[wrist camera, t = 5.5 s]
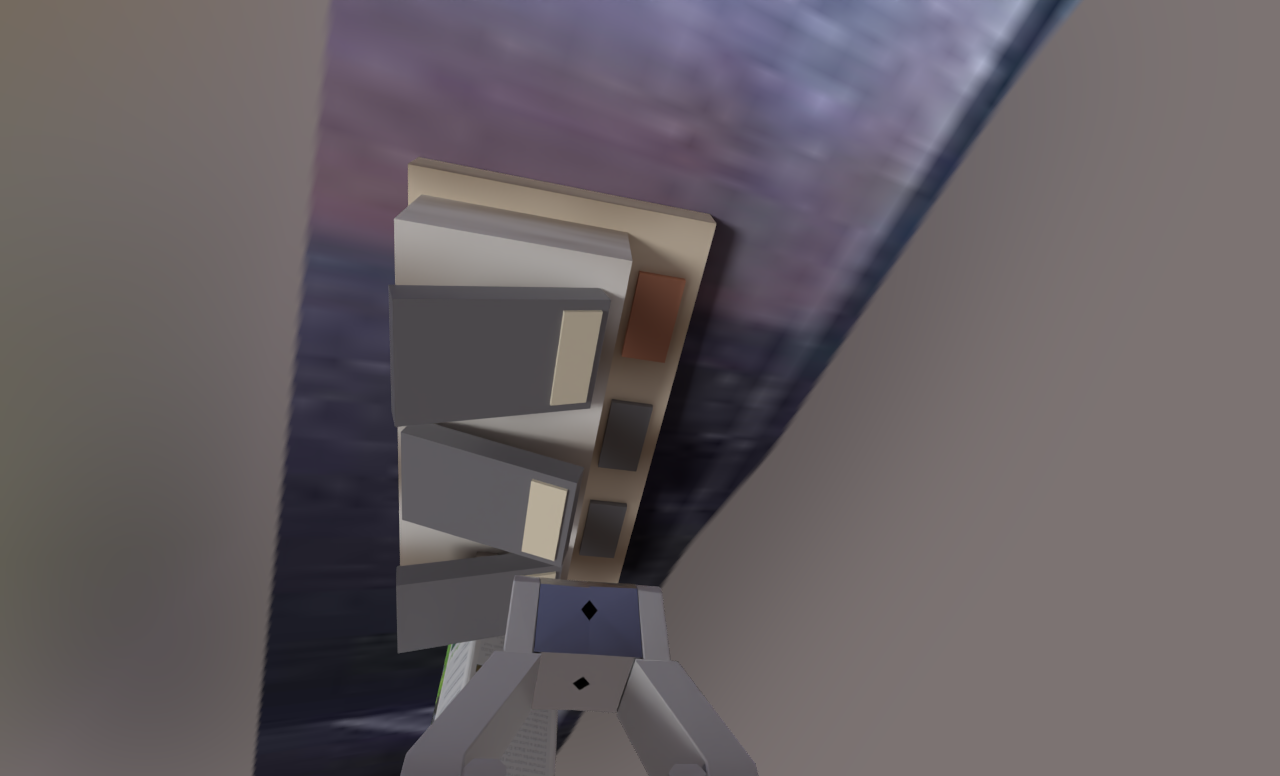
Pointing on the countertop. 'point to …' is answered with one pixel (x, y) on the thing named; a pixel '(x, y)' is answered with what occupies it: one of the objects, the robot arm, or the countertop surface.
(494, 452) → the switch middle
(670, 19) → the countertop surface
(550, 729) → the syrup box
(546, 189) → the switch unit
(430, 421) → the switch
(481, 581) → the switch
